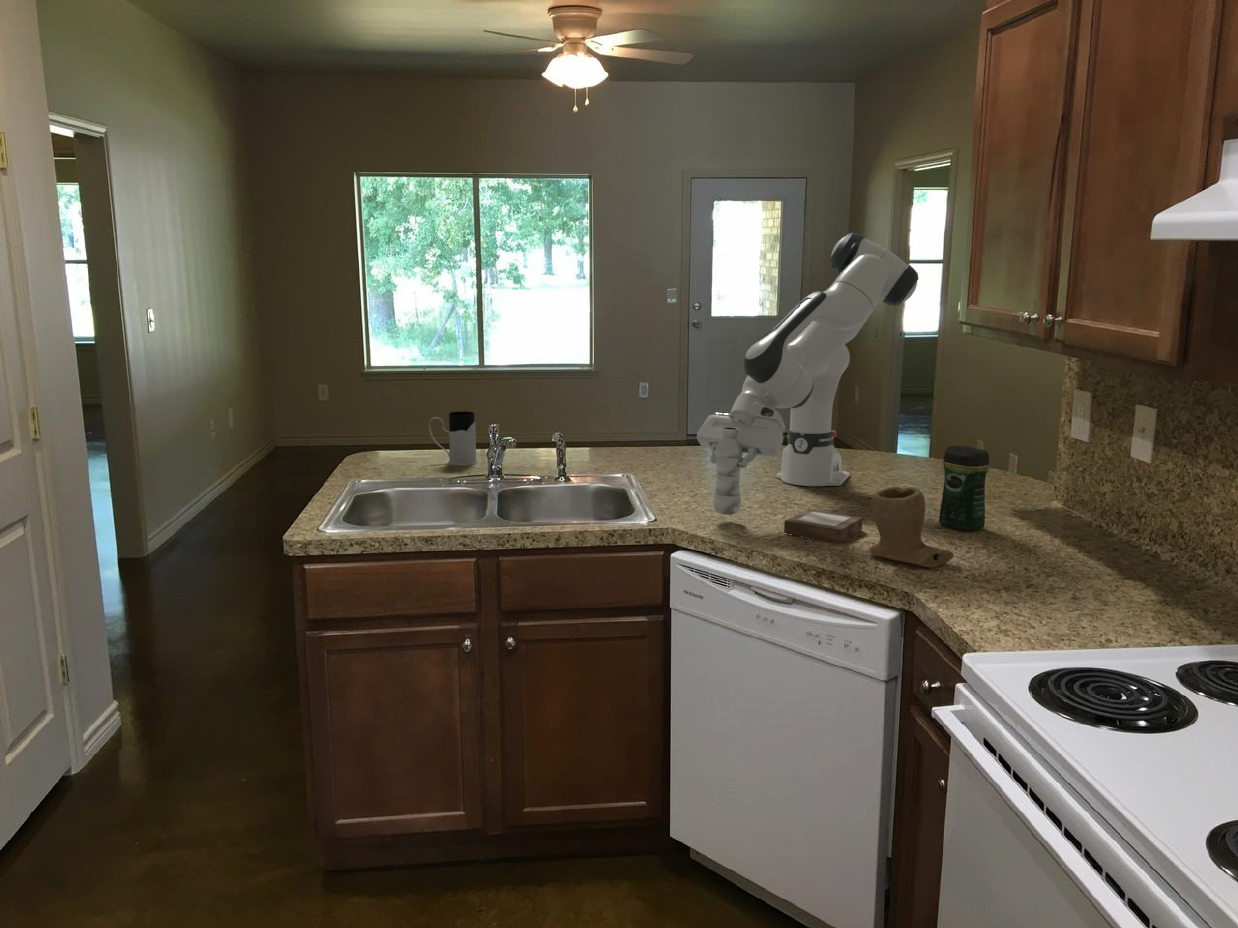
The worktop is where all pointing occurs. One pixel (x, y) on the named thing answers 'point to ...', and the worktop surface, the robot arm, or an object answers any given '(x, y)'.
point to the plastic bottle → (728, 473)
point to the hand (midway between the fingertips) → (727, 464)
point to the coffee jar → (964, 488)
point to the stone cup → (903, 528)
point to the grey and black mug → (460, 438)
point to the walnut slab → (823, 525)
